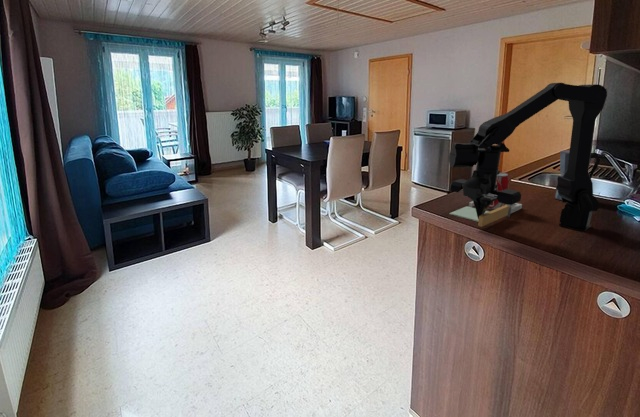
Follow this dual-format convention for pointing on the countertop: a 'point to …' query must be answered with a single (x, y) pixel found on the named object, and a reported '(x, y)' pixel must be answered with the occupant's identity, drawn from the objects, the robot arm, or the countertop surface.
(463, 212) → the green mat
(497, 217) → the bar
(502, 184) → the soda can
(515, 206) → the can holder
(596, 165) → the moka pot
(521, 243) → the countertop surface
